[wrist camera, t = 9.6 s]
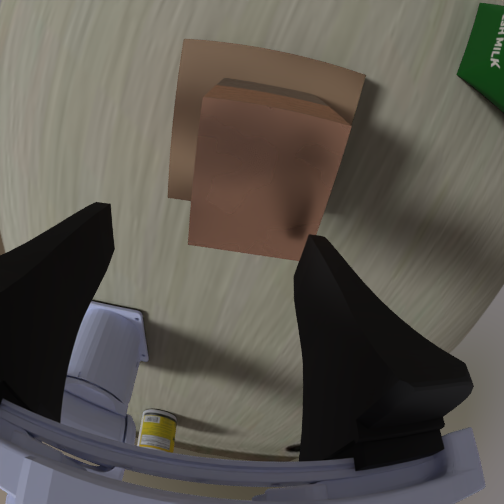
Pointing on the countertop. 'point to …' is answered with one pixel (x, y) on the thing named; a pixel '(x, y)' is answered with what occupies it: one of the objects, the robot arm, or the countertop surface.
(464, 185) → the countertop surface
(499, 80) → the milk carton
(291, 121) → the block
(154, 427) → the supplement bottle
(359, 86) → the walnut stand
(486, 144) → the countertop surface
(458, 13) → the countertop surface
